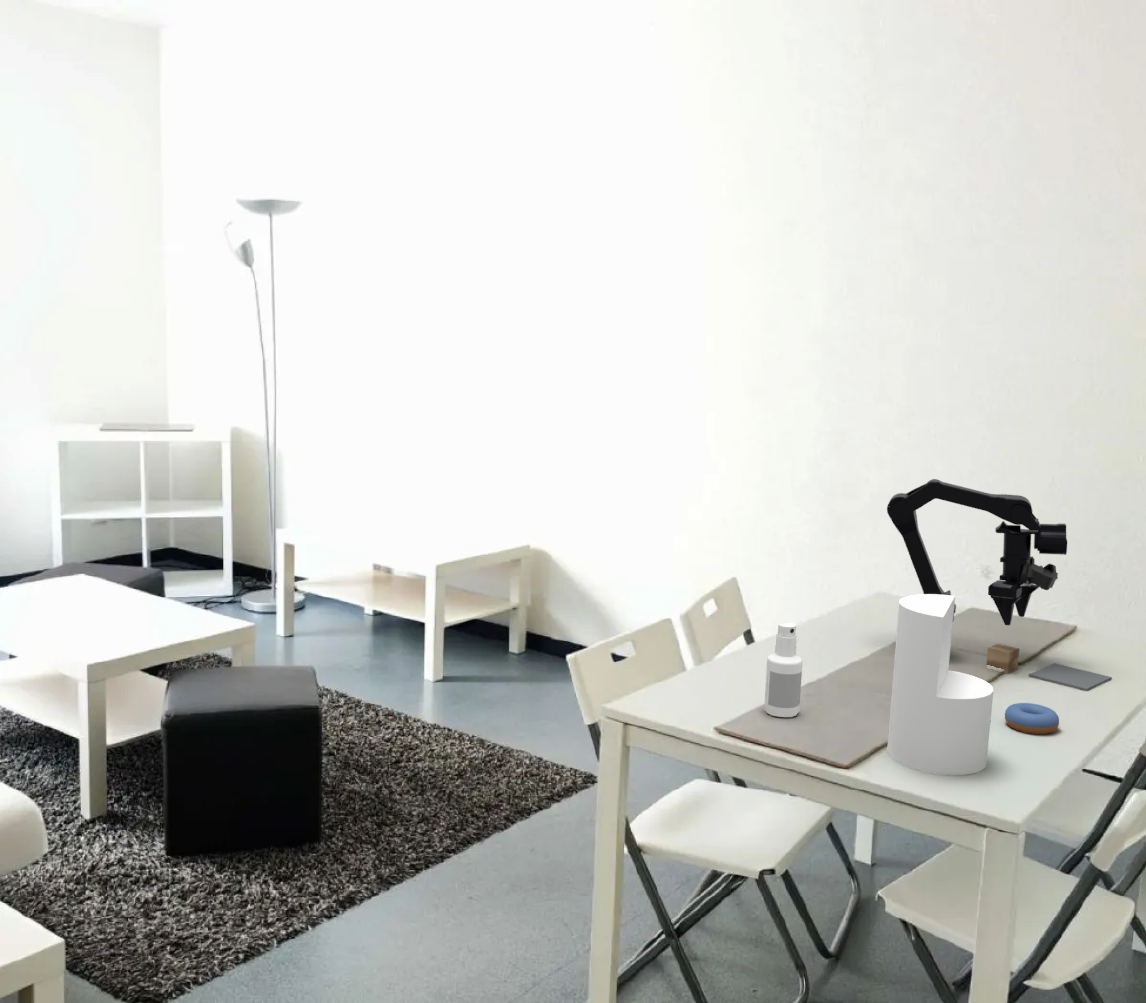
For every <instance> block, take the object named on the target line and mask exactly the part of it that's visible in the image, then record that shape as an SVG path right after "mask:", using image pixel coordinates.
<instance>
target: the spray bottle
mask: <svg viewBox="0 0 1146 1003" xmlns="http://www.w3.org/2000/svg"><path fill="white" fill-rule="evenodd" d="M796 630H797V624H795V623H793V622H786V623H778V625H777V634H776V638H775V646H774V652H773V653H771V654H770V655H768V657H767V660H766V674H765V675H766V676H765V692H764V706H763V710H764V709H765V710H764V712H765V711H767V712H769V713H772V714H778V715H793V714H797V713H798V712H799V713H800V708H801V692H802V689H801V688H802V675H803V674H802V673H803V662H804V661H803V659H802V658H801V657H800V656H799V655H797V633H796Z"/></svg>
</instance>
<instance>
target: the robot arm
mask: <svg viewBox="0 0 1146 1003" xmlns="http://www.w3.org/2000/svg"><path fill="white" fill-rule="evenodd" d="M935 499H936V500H941V501H945V502H950V503H953V504H957V505H961V506H965V507H968V508H973V509H977V510H980V511H985V512H988V513H989V514H992V515H994V516H996V517H998V519H1002V520H1003V521H1001V523H1000V524H999V525H998V526H996V527H995V529H994V530H995V533H996V534H1003V547H1002V548H1003V549H1002V550H1003V551H1002V552H1003V553H1002V554H1003V555H1002V556H1001V557H1000V558H999V559H1000V560H999V563H1002V573H1001V575H999V579H998V580H995V581H994V582H992V583H991V584H990V585H989V586H988V587H987V588H988V589H987V591H988V593H987V595H989V596H990V599H992V601H993V603H994V605H995V606H996V608H997V610H998V613H999V615H1000V617H1001V619H1002V622H1003V623H1004V625H1005V626H1011V623H1012V618H1013V616H1014V614H1013V613H1014V609H1015V608H1016V612H1017V614H1018V617H1021V618H1023V617H1025V615H1026V612H1027V609H1028V605H1029V602H1030V599H1031V596H1032V594H1033V593H1034V592H1035V591H1037V590H1038V589H1039V588H1040V589H1042V590H1045V591H1048V590H1050V589H1052V588H1053V587H1054V585H1055V582H1056V580H1058V578H1059V575H1058V574H1059V573H1058V572H1057V568H1056V567H1057V566H1056V565H1054V564H1052V563H1047V564H1046V565H1045V566H1043V565H1038V564H1036V563H1035V558H1034V556H1031V555H1032V554H1031V551H1032V550H1031V548H1032V535H1033V549H1034V550H1036V551H1038V553H1039V555H1060V556H1062V555H1067V551H1068V539H1067V524H1066V523H1057V524H1056V523H1040V521H1039V518H1037V517H1036V516H1035V515H1034V513H1033V507H1032V504H1031V502H1030V500H1029V499H1028V498H1027V497H1025V496H1023V495H1018V494H1005V493H1004V494H1003V493H1001V494H994V493H988V492H984V491H980V490H977V489H973V488H968V487H964V486H961V485H957V484H952V483H948V482H944V481H941V480H939V479H935V478H932V479H930V480H928V481H927V482H926V483H925V484H923V485H920V486H918V487H916V488H914V489H912V490H910V491H908V492H905V493H904V492H899V493H895V494H894V495H893V496H892V497H891V498H890V500H889V502H888V504H887V506H886V511H887V512H886V514H887V515H888V517H889V518H890V521H891V522H892V523H893V525H894V527H895V529H897V531H898V533H899V534H900V535H901V537H902V539H903V542H904V544H905V547H906V550H907V552H908V554H909V555H908V556H909V557H910V560H911V563H912V566H913V568H914V571H915V573H916V577H917V578H918V581H919V584H920V587H921V590H922V592H923V594H939V595H951V596H952V592H951V590H950V589H949V590H947V591H944V590H943V587H941V585H940V584H939V581H938V577H937V575H936V573H935V570H934V567H933V565H932V562H931V559H930V557H929V554H928V551H927V548H926V546H925V544H924V543H925V542H924V540H923V538H922V535H921V533H920V529H919V524H918V515H917V510H919V509H920V508H922V507H923V506H925V505H927V504H928V503H930V502H931V501H933V500H935ZM1005 521H1006V522H1009V523H1010V524H1007V523H1006V522H1005ZM1021 525H1022V526H1024V527H1025V528H1026V529H1025V528H1021ZM956 609H957V605H956V603H954V614H953V622H954V620H955V613H956V612H957V610H956Z"/></svg>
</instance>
